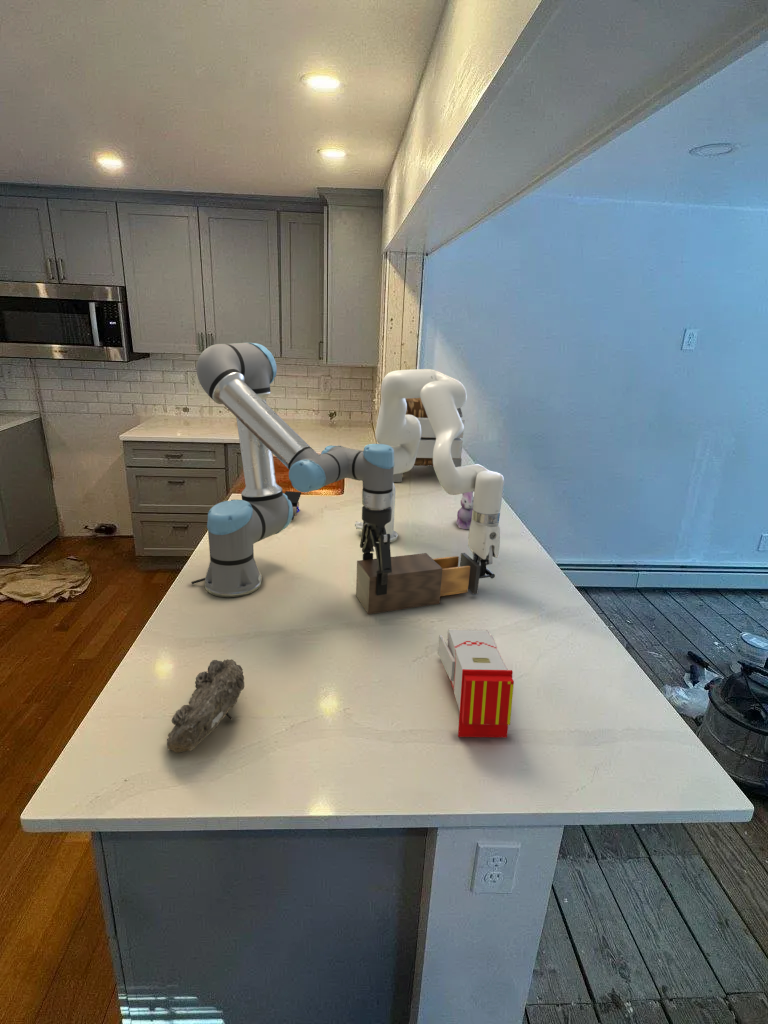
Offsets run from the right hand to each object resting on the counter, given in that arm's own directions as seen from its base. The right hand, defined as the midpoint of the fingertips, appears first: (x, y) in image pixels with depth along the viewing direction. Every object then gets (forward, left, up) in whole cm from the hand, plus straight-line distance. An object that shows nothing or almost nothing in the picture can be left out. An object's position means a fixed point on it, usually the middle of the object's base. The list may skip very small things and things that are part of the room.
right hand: (478, 576), depth 162 cm
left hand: (-25, -19, +2) cm, 32 cm away
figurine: (-11, +49, -4) cm, 50 cm away
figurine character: (-75, +33, -4) cm, 82 cm away
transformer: (-43, +111, -4) cm, 119 cm away
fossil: (-41, -73, -4) cm, 83 cm away
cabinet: (-20, -15, -4) cm, 25 cm away
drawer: (-7, -6, -3) cm, 10 cm away
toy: (+5, -48, -4) cm, 48 cm away
